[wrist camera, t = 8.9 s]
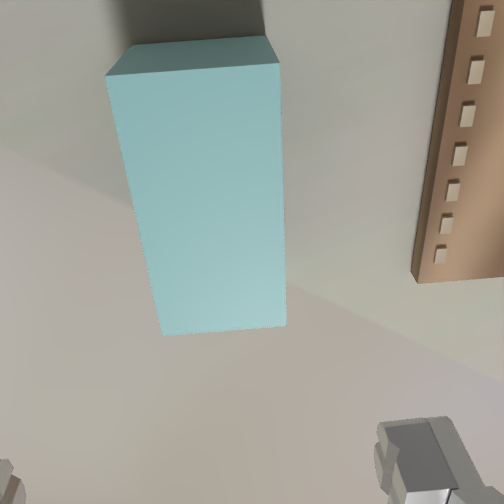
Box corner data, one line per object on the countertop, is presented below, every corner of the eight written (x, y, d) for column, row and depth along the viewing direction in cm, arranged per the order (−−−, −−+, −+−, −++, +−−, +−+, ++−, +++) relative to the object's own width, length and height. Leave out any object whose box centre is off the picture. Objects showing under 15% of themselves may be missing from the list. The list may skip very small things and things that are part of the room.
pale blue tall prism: (172, 264, 28) (162, 335, 23) (132, 44, 21) (104, 75, 16) (274, 256, 28) (286, 325, 23) (265, 35, 21) (280, 63, 16)
